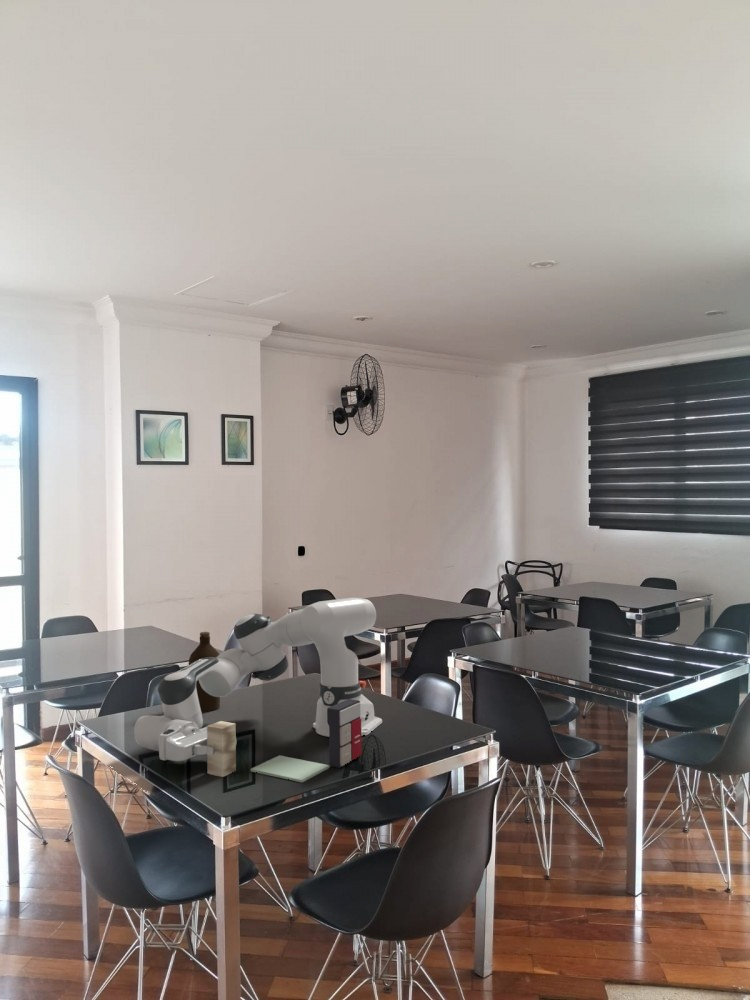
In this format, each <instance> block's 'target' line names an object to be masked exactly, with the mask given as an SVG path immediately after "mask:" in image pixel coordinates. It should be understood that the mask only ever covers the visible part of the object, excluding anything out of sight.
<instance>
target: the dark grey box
mask: <svg viewBox="0 0 750 1000" xmlns="http://www.w3.org/2000/svg"><path fill="white" fill-rule="evenodd" d="M360 715H361V711H360V701H359V700H352V699H347V700H345V701H343V702H341V703H338V704H336V705H334V706H331V707H329V708H328V709H327V723H328V725H329V737H328V738H329V739H328V741H329V744H328V745H329V746H328V747H329V749H328V751H329V765H330V767H331V768H337V769H341V768H342V767H344V766H346V765H348V764H349V763H351V762H352V760H353V761H354V759H355V760H356V759H358V758H360V757H361V756H362V736H361V718H360ZM359 756H360V757H359ZM357 757H358V758H357ZM350 761H351V762H350ZM347 763H348V764H347ZM345 764H346V765H345Z"/></svg>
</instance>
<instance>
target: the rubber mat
mask: <svg viewBox="0 0 750 1000" xmlns="http://www.w3.org/2000/svg"><path fill="white" fill-rule="evenodd" d="M330 767H331V766H330V764H324V763H319V762H315V761H309V760H305V759H299V758H295V757H288V756H284V755H280V754H279V755H278V756H275V757H273V758H271V759H269V760H266V761H264V762H262V763H261V764H258V765H256V766H254V767H252V768H250V772H252V773H256V772H257V773H256V774H260V775H265V776H271V777H275V778H280V779H285V780H288V779H289V781H294V782H298V783H305V782H306V781H307V780H310V779H311V778H313V777H315V776H317V775H319V774H321V773H322V772H324V771H326V770H329V768H330Z"/></svg>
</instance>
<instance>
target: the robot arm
mask: <svg viewBox="0 0 750 1000" xmlns="http://www.w3.org/2000/svg"><path fill="white" fill-rule="evenodd" d="M271 620H272V617H271V616H265V615H263V614H259V613H252V614H251V613H250V614H248V615H245V616H242V618H240V619H239V620H238V622H237V623H235V625H234V627H233V633H234V637H235V638H236V640H237V642H238V643H239V646H240V648H241V649H239V648H234V647H233V648H230V649H229V648H228V649H226V650H225V651H223V652H221V653H219V654H220V655H218V656H217V657H205V658H202V659H199V660H197V661H195V662H193V663H192V664H190V665H189V664H188V665H187V666H185V667H183V668H181V669H180V670H177V671H175V672H172V673H169V674H167V675H165V676H163V678H162V679H161V681H160V682H159V683H158V686H157V692H158V695H159V696H158V697H159V698H160V701H161V705H162V710H163V715H142V716H140V717H138V719H137V720H136V721H135V724H134V728H133V735H134V739H135V742H136V743H137V745H139V746H140V747H142V748H145V749H147V750H152V751H156V752H158V755H159V757H158V758H159V760H162V761H167V760H168V761H172V762H184V761H187V760H189V759H192V758H194V757H197V756H200V755H212V754H214V753H215V747H214V746H207V726H205V727H203V725H204V720H203V712H201V708H200V704H199V700H198V695H197V690H196V681H197V680H199V682H200V685H201V687H202V689H203V690H204V691H205V692H206V693H208V694H210V695H212V696H215V697H220V698H223V697H227V696H228V695H230V694H232V693H233V692H234V691H235V690H236V689H237V688H238V686H239V685H240V684H241V682H242V681H243V680H244V679H245V677H246V676H249V674H251V675H250V677H251V678H252V679H257V680H260V681H264V682H269V681H272V680H273V681H274V680H276V679H278V678H280V677H281V676H282V675H284V673H285V672H286V671H287V670H288V668H289V661H288V658H287V656H286V654H285V653H284V650H283V648H282V646H283V647H284V646H285V647H302V646H306V645H311V644H314V646H315V647H316V649H317V652H318V655H319V661H320V662H319V664H320V683H319V688H318V691H319V697H320V698H318V700H317V702H316V714H315V722H313V724H312V728H313V729H314V730H315V732H316V734H318V735H320V736H323V737H328V738H329V725H328V723H327V709H328V708H329V707H331V706H334V705H336V704H338V703H341V702H343V701H345V700H347V699H352V700H359V701H360V711H361V715H360V718H361V737H362V736H363V735H365V736H368V735H369V734H370V733H372V732H371V731H374V730H375V729H376V728H378V726H380V725H381V724H382V723H383V719H382V718H381V717H378V716H375V708H374V707H375V706H374V704H373V703H372V702H371V701H370V700H369V699H368V698H367V697H366V696H364V694H363V691H362V689H365V688H366V686H367V683H366V681H365V680H364V681H362V680H359V658H358V656H357V654H356V653H355V652H354V651H352V650H351V649H349V648H348V647H347V644H346V640H345V637H349V636H355V635H358V634H362V633H364V632H367V631H369V630H371V629H372V628H373V627H374V626H375V623H376V621H377V610H376V607H375V606H374V603H373V602H372V601H370V600H369V599H367V598H361V597H348V598H347V597H345V598H339V599H329V600H322V601H321V600H320V601H317V602H313V603H311V604H309V605H306V606H305V607H304V608H302V609H298V610H294V611H291V612H290V613H286V614H285V615H283V616H281V617H280V618H279V619H277V620H275V621H271ZM363 737H364V736H363ZM237 742H238V741H237V738H236V744H238V743H237Z"/></svg>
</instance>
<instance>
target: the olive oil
mask: <svg viewBox="0 0 750 1000" xmlns="http://www.w3.org/2000/svg"><path fill="white" fill-rule="evenodd" d="M210 634H211V633H210V632H209V631H200V632H199V644H198V646H197V647H195V649H194V650H193V651H192V653H190V656H189V659H188V665H190V664H192V663H193V662H195V661H197V660H199V659H202V658H205V657H217V656H218V655H220V654H221V653H220V652H219V651H218V650H217V649H216V648H215V647H214V646H213V645H212V644H211V636H210ZM196 690H197V695H198V700H199V704H200V708H201V713H203V712H205V713H207V712H212V711H213V712H214V711H216V710H218V709H220V707H221V697H215V696H212V695H210V694H208V693H206V692H205V691H204V690H203V689H202V687H201V685H200V682H199V680H197V681H196Z"/></svg>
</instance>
